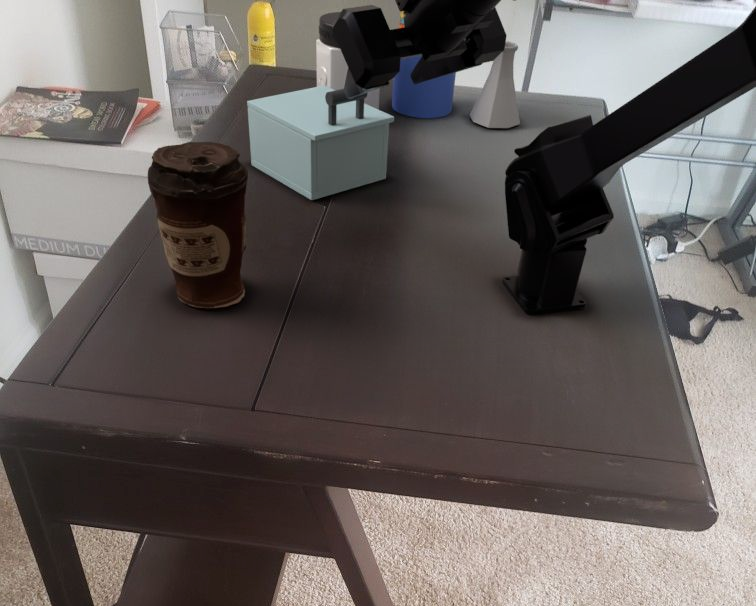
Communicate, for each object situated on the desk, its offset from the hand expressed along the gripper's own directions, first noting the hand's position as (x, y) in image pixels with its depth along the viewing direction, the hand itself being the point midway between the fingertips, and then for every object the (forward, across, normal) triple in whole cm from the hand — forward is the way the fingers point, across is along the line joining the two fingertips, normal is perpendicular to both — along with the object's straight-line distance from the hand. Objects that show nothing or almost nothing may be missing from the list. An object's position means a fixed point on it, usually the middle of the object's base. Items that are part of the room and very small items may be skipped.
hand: (380, 86), depth 78 cm
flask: (+17, -33, +1) cm, 37 cm away
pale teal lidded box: (+17, 0, +1) cm, 17 cm away
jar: (+27, -16, -9) cm, 32 cm away
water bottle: (+24, -28, -6) cm, 38 cm away
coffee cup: (+4, +26, +14) cm, 30 cm away
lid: (+11, 0, -3) cm, 12 cm away
